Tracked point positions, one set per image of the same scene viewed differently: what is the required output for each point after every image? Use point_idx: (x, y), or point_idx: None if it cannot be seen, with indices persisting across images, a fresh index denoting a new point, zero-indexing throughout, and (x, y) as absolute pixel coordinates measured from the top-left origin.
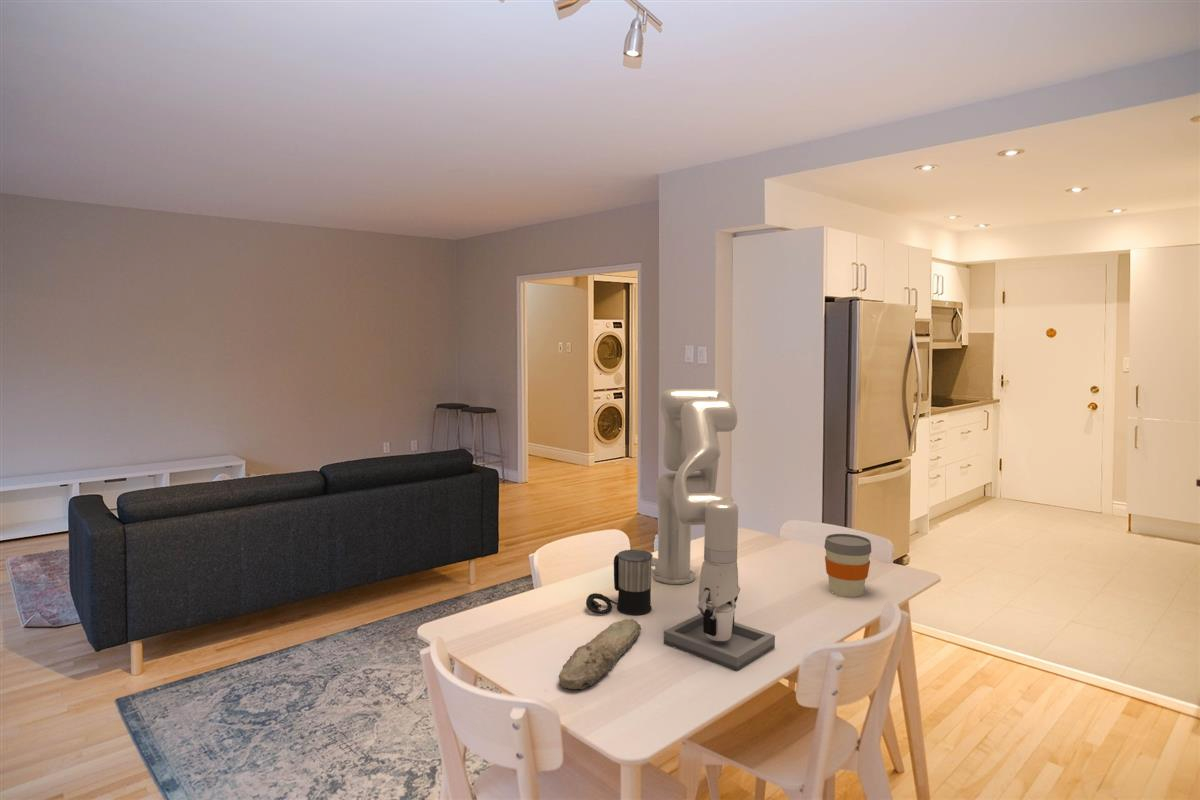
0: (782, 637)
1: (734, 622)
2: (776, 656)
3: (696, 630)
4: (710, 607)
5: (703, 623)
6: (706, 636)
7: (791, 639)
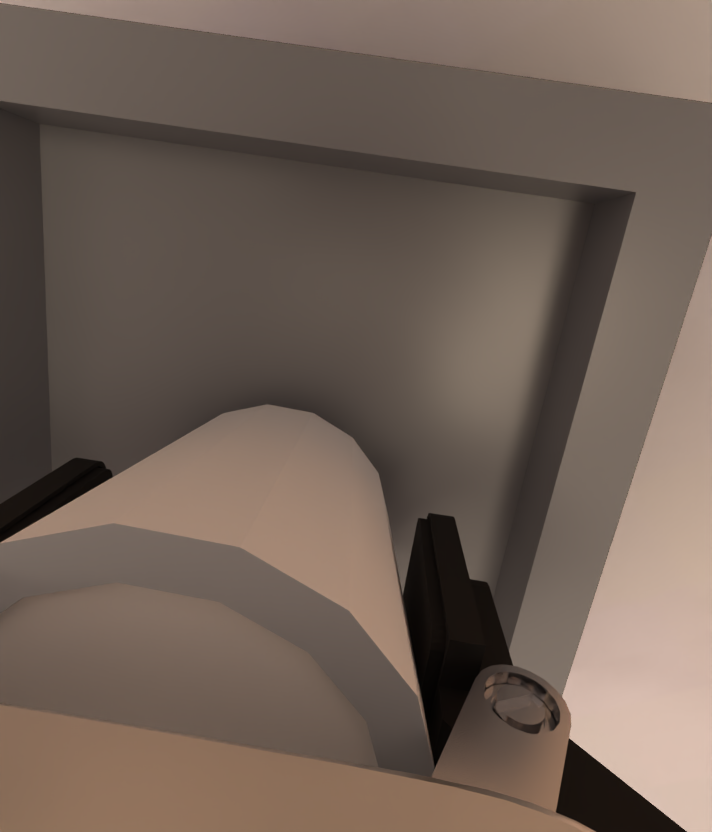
0: (685, 773)
1: (597, 555)
2: None
3: (371, 219)
4: (36, 658)
5: (15, 494)
6: (304, 368)
7: (678, 820)
